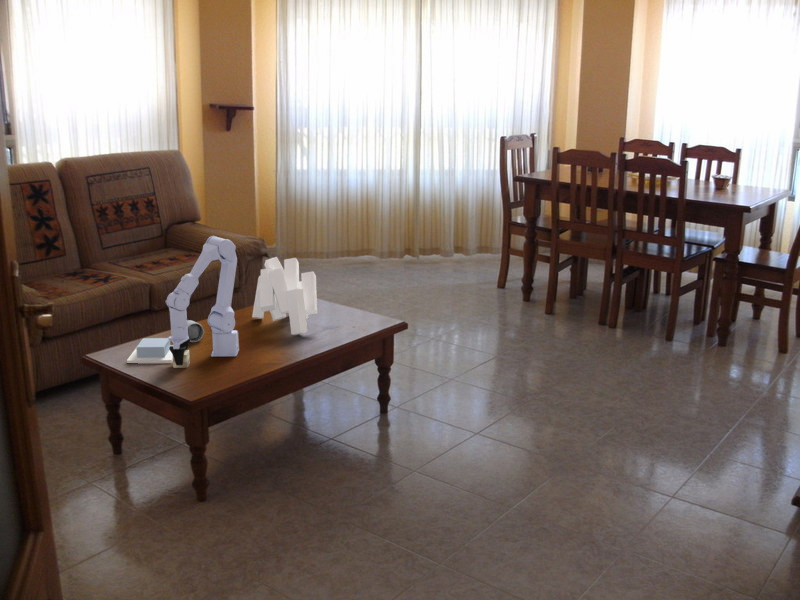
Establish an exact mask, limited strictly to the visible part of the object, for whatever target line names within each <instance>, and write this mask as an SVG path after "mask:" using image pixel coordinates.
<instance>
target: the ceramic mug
mask: <svg viewBox="0 0 800 600" xmlns="http://www.w3.org/2000/svg"><path fill="white" fill-rule="evenodd" d="M187 327H188V336H189V337H190V338H191V340H190V342H189V343H197V342H199V341H201V339H203V337H204V334H205V330H204V327H203V325H202V324H200V323H199V322H196V321H194V320H191V319H190V320H189V319H187Z"/></svg>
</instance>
